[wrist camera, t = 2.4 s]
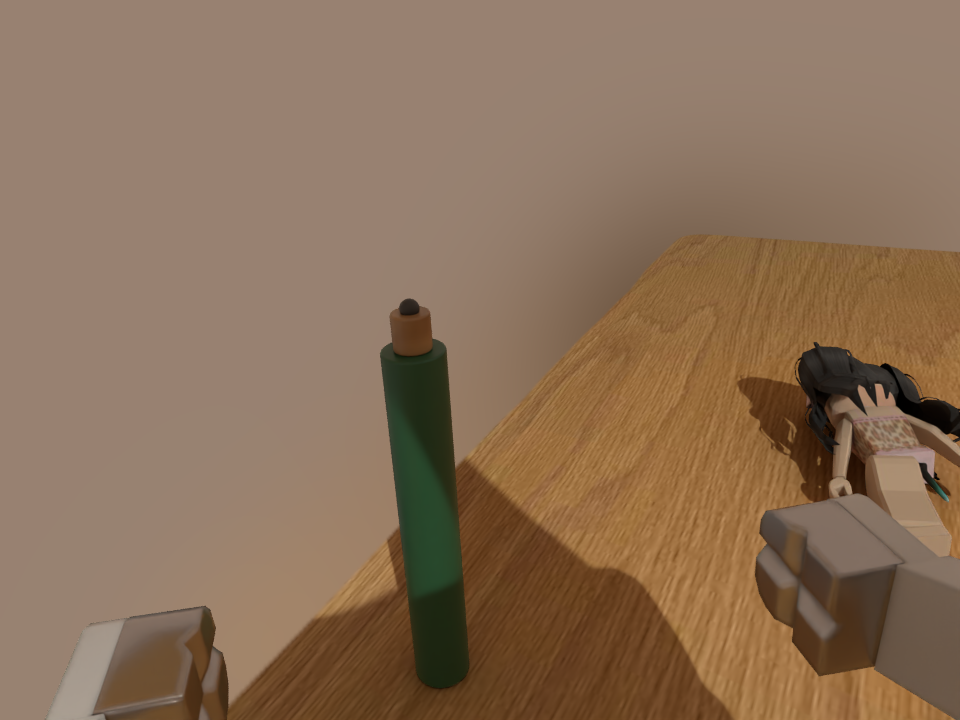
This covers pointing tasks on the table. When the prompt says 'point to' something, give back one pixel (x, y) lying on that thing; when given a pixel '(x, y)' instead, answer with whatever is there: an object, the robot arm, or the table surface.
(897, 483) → the toy figure
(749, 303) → the table surface
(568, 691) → the table surface
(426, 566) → the pencil
